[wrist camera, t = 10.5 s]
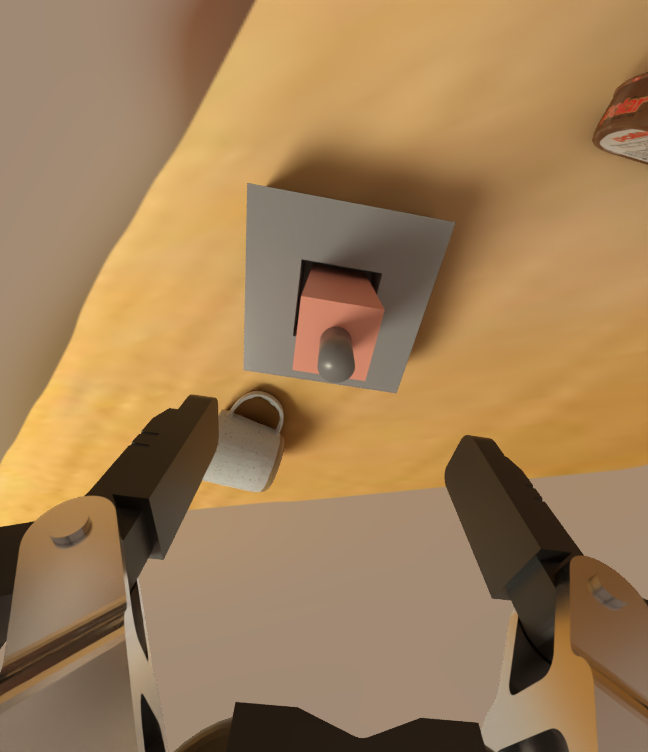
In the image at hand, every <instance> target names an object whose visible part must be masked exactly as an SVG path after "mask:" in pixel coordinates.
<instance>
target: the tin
mask: <svg viewBox="0 0 648 752" xmlns="http://www.w3.org/2000/svg"><path fill="white" fill-rule="evenodd" d="M593 143H594V144H595V146H596V147H598V148H599V149H601V150H603V151H606V152H608V153H611V154H615V155H618V156H621V157H625V158H628V159H631V160H634V161H638V162H641V163H644V164H647V165H648V72H647V73H644V74H641V75H639V76H636V77H633V78H631V79H629V80H627V81H626V82H624V83H623V84H621V85H620V86H619V87H618V88H617V89H616V91H615V93H614V95H613V99H612V101H611V103H610V105H609V106H608V108H607V110H606V112H605V113H604V115H603V117H602V119H601V120H600V122H599V124H598V126H597V128H596V130H595V132H594V135H593Z"/></svg>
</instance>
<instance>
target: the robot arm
mask: <svg viewBox="0 0 648 752" xmlns="http://www.w3.org/2000/svg"><path fill="white" fill-rule="evenodd" d="M218 440H219V420H218V401H217V399H216V398H213V397H206V396H199V395H189V396H188V397H187V399H186V400H185V401H184V402H183V404H182V405H181V406H180V408H179V409H171V408H169V409H167V410H166V411H164V412H162V413H161V414H159V415H157V416H156V417H154V418H152V420H151V421H150V422H149V423H148V424H147V425H146V427H145V428H144V429H143V430H142V431H141V434H139V435H138V436H137V437H136V438H135V439H134V440H133V442H132V444H131V445H129V446H128V447H127V448H126V450H125V451H124V452H123V453H122V454H121V455H120V456H119V458H118V459H117V460H116V461H115V462H114V463H113V465H112V466H111V467H110V468H109V469H108V470H107V471H106V473H105V474H104V475H103V476H102V477H101V478H100V480H99V481H98V482H97V483H96V484H95V485H94V486H93V488H92V489H91V490H90V491H89V492H88V493H87V494H86V495H85V496H83V497H78V498H74V499H71V500H68V501H66V502H63V503H61V504H59V505H57V506H55V507H54V508H52V509H50V510H49V511H47V512H46V513H44V514H43V515H42V516H40V517H39V518H38V519H37V520H36V521H33V522H29V523H22V524H16V525H10V526H4V527H0V649H1V647H2V646H3V644H4V643H5V642H6V648H5V654H4V662H3V666H2V669H1V672H0V752H169V751H168V745H167V739H166V733H165V727H164V720H163V714H162V708H161V702H160V697H159V692H158V687H157V683H156V679H155V675H154V671H153V665H152V660H151V654H150V647H149V641H148V634H147V629H146V622H145V615H144V609H143V602H142V596H141V590H140V584H139V578H138V576H139V574H140V573H141V571H142V569H143V567H144V565H145V563H146V561H147V559H148V558H151V559H161V560H163V559H164V558H165V555H166V553H167V551H168V549H169V547H170V545H171V543H172V541H173V539H174V537H175V535H176V533H177V531H178V529H179V527H180V525H181V522H182V520H183V518H184V516H185V514H186V512H187V510H188V508H189V506H190V504H191V502H192V500H193V498H194V496H195V494H196V492H197V490H198V488H199V486H200V483H201V481H202V479H203V477H204V475H205V473H206V471H207V469H208V467H209V465H210V463H211V461H212V459H213V457H214V455H215V452H216V449H217V446H218ZM445 484H446V487H447V490H448V492H449V495H450V497H451V499H452V502H453V504H454V507H455V509H456V512H457V514H458V516H459V519H460V521H461V524H462V526H463V529H464V531H465V534H466V536H467V538H468V541H469V543H470V545H471V548H472V550H473V553H474V555H475V558H476V560H477V563H478V565H479V567H480V570H481V572H482V575H483V577H484V580H485V582H486V585H487V587H488V590H489V592H490V594H491V597H492V598H494V599H503V600H511V601H512V603H513V605H514V607H515V610H514V611H513V612H512V613H511V615H510V618H509V624H508V630H507V637H506V643H505V649H504V655H503V662H502V668H501V675H500V680H499V687H498V692H497V696H496V698H495V701H494V703H493V706H492V707H491V709H490V710H489V712H488V714H487V716H486V718H485V720H484V723H483V726H482V729H481V731H480V727H479V724H478V723H475V722H463V721H451V720H439V719H428V718H427V719H426V718H419V719H417V720H414V721H411V722H408V723H406V724H403V725H401V726H398V727H395V728H392V729H389V730H387V731H384V732H382V733H379V734H376V735H373V736H371V737H368V738H358V737H355V736H353V735H351V734H349V733H347V732H345V731H343V730H341V729H339V728H337V727H335V726H333V725H331V724H329V723H327V722H325V721H323V720H321V719H319V718H317V717H315V716H314V715H311V714H310V713H308V712H306V711H304V710H302V709H300V708H298V707H287V706H276V705H264V704H251V703H240V702H236V703H235V708H234V713H233V717H231V718H228V719H225V720H222V721H219V722H217V723H215V724H213V725H211V726H209V727H207V728H205V729H203V730H202V731H200V732H199V733H197V734H196V735H194V736H193V737H192V738H190V739H189V740H187V741H186V742H184V743H183V744H182V745H181V746H180V747H179V748H178V749H176V750H175V751H174V752H648V600H646V599H643V598H642V597H641V596H640V595H639V593H638V592H637V591H636V590H635V588H634V587H633V586H632V585H631V584H630V583H629V582H628V581H627V580H626V579H625V578H623V577H622V576H621V575H620V574H619V573H617V572H616V571H615V570H613V569H612V568H610V567H609V566H607V565H606V564H604V563H602V562H600V561H599V560H596V559H594V558H591V557H588V556H584V555H583V554H582V552H581V551H580V549H579V548H578V547H577V545H576V544H575V543H574V541H573V540H572V539H571V537H570V536H569V535H568V533H567V532H566V530H565V529H564V527H563V526H562V525H561V523H560V522H559V521H558V519H557V518H556V517H555V515H554V514H553V513H552V511H551V510H550V508H549V507H548V505H547V504H546V503H545V502H543V501H542V497H541V496H540V494H539V493H538V492H537V490H536V489H534V488H533V485H532V483H531V482H530V481H529V479H528V478H527V477H526V475H525V474H524V472H523V471H522V470H521V469H520V468H519V467H518V466H516V465H515V464H514V463H513V462H512V461H511V460H510V459H509V458H507V457H505V456H504V454H503V453H502V451H501V450H500V449H499V447H498V446H497V444H496V443H495V442H494V441H493V440H492V439H490V438H484V437H477V436H470V435H466V436H464V437H463V438H462V439H461V441H460V443H459V445H458V446H457V448H456V450H455V452H454V454H453V456H452V457H451V459H450V461H449V463H448V465H447V467H446V470H445Z"/></svg>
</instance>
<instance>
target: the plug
mask: <svg viewBox="0 0 648 752" xmlns="http://www.w3.org/2000/svg"><path fill="white" fill-rule="evenodd" d="M384 311H385V310H384V308H383V306H382V304H381V302H380V300H379V298H378V296H377V294H376V293H375V291H374V289H373V287H372V285H371V283H370V281H369V279H368V277H367V275H366V274H365V272H361V271H356V270H350V269H344V268H338V267H333V266H327V265H321V264H315V263H313V266H312V268H311V271H310V274H309V276H308V279H307V282H306V284H305V287H304V290H303V292H302V295H301V301H300V310H299V318H298V326H297V335H296V343H295V352H294V360H293V368H292V370H296V371H302V372H309V373H315V374H320V375H321V377H322V378H324V379H325V380H327V381H329V382H333V383H340V382H343V381H346V380H347V379H355V380H361V381H365V380H366V377H367V373H368V369H369V366H370V362H371V358H372V355H373V351H374V347H375V344H376V340H377V336H378V333H379V329H380V325H381V322H382V318H383V314H384Z"/></svg>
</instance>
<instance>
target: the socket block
mask: <svg viewBox="0 0 648 752" xmlns="http://www.w3.org/2000/svg"><path fill="white" fill-rule="evenodd" d="M455 223H456V222H452V221H447V220H441V219H436V218H431V217H425V216H420V215H415V214H409V213H404V212H399V211H393V210H388V209H383V208H378V207H372V206H367V205H362V204H356V203H351V202H346V201H340V200H335V199H330V198H324V197H319V196H314V195H309V194H303V193H298V192H293V191H287V190H282V189H277V188H271V187H266V186H261V185H255V184H250V183H247V228H246V277H245V326H244V370H246V371H253V372H259V373H266V374H272V375H279V376H286V377H292V378H299V379H305V380H312V381H319V382H325V383H332V384H338V385H345V386H352V387H358V388H365V389H372V390H378V391H385V392H391V393H397V390H398V387H399V385H400V382H401V379H402V376H403V373H404V370H405V367H406V364H407V362H408V359H409V356H410V353H411V350H412V347H413V344H414V341H415V338H416V336H417V333H418V330H419V327H420V324H421V321H422V318H423V315H424V312H425V310H426V307H427V304H428V301H429V298H430V295H431V292H432V289H433V287H434V284H435V281H436V278H437V275H438V272H439V269H440V266H441V263H442V261H443V258H444V255H445V252H446V249H447V246H448V243H449V240H450V238H451V235H452V232H453V229H454V226H455ZM313 263H315V264H321V265H327V266H333V267H338V268H344V269H350V270H356V271H361V272H365V274H366V275H367V277H368V279H369V281H370V283H371V285H372V287H373V289H374V291H375V293H376V294H377V296H378V298H379V300H380V302H381V304H382V306H383V308H384V310H385V311H384V314H383V318H382V322H381V325H380V329H379V333H378V336H377V340H376V344H375V347H374V351H373V355H372V358H371V362H370V366H369V369H368V373H367V377H366V380H365V381H361V380H355V379H347V380H346V381H343V382H340V383H333V382H329V381H327V380H325V379H324V378H322V377H321V375H320V374H315V373H309V372H302V371H296V370H292V368H293V360H294V352H295V343H296V335H297V326H298V318H299V310H300V301H301V295H302V292H303V290H304V287H305V284H306V282H307V279H308V276H309V274H310V271H311V268H312V266H313Z"/></svg>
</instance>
